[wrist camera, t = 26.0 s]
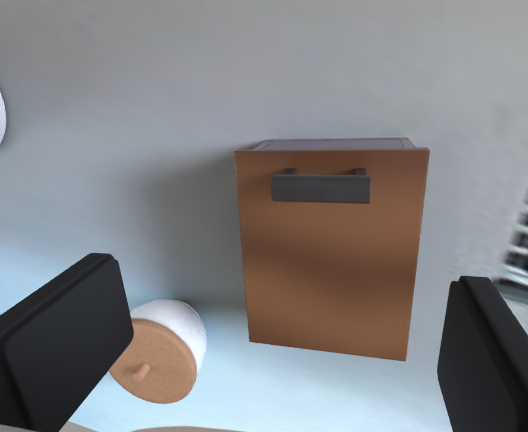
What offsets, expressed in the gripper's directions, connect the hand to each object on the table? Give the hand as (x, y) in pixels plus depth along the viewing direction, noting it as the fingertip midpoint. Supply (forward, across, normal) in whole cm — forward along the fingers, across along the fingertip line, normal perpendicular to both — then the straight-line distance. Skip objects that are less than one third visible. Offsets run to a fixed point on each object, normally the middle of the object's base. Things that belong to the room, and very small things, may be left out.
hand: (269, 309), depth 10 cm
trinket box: (+25, +18, +22) cm, 38 cm away
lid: (+16, -1, +7) cm, 17 cm away
